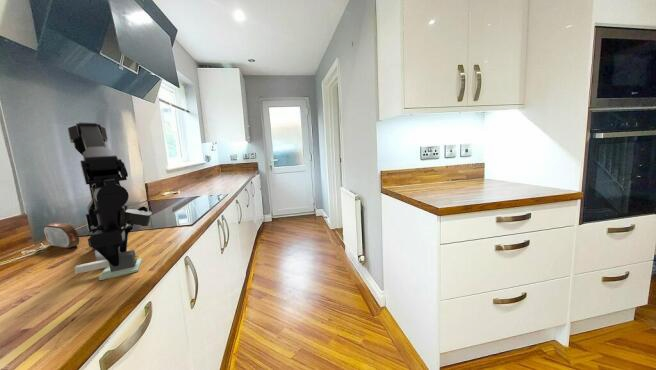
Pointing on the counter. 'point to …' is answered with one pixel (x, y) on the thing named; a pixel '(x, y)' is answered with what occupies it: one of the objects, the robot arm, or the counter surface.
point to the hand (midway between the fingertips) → (120, 259)
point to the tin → (61, 235)
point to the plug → (125, 262)
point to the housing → (99, 256)
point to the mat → (120, 271)
